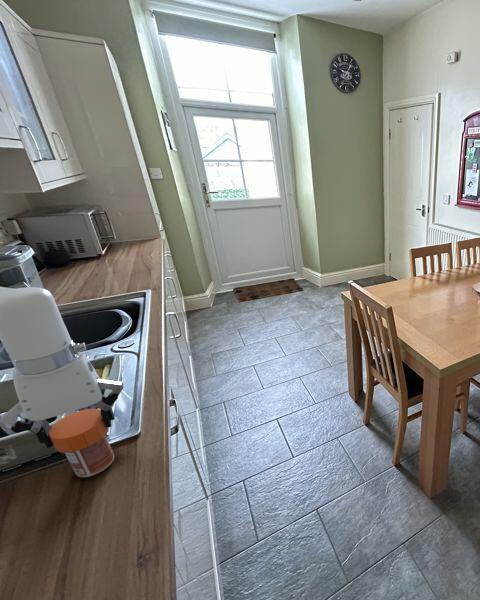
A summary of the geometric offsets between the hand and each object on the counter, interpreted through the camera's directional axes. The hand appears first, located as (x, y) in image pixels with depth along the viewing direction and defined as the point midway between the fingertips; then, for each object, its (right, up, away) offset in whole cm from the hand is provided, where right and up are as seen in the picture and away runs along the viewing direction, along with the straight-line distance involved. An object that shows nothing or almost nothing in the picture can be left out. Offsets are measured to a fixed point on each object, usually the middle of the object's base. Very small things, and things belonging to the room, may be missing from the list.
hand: (81, 432), depth 64 cm
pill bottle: (-1, -9, +4) cm, 9 cm away
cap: (0, -1, 0) cm, 1 cm away
